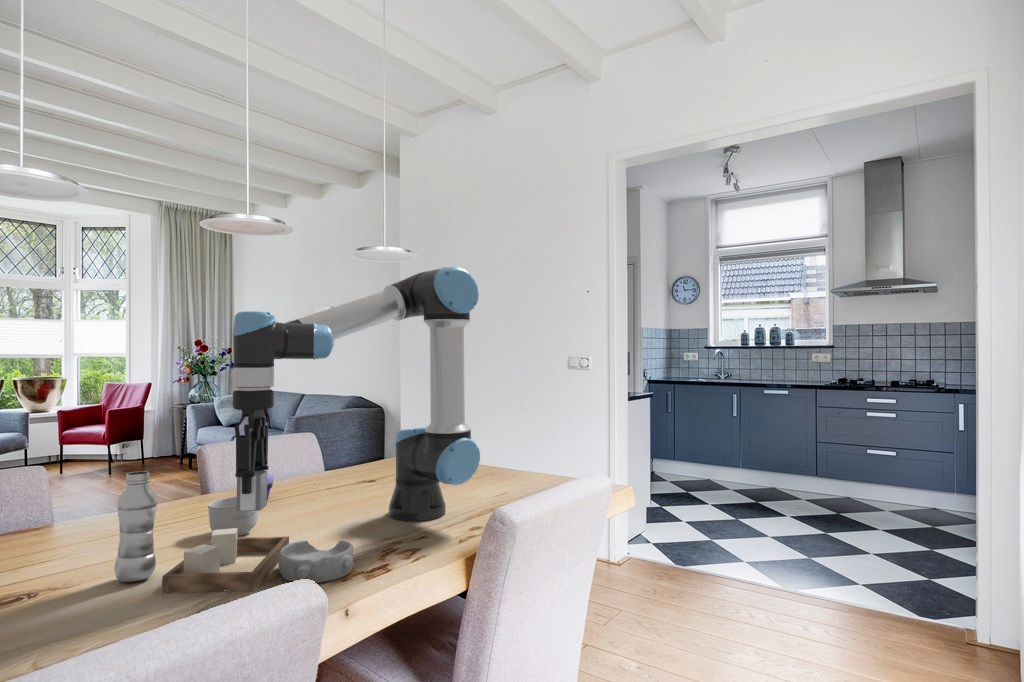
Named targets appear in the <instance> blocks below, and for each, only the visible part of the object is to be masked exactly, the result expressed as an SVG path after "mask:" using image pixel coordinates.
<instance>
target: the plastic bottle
mask: <svg viewBox="0 0 1024 682" xmlns="http://www.w3.org/2000/svg"><path fill="white" fill-rule="evenodd" d="M125 477H126V479H125V485H126V488H125V489H124V490H123V491H122V493H120V495H119V497H118V499H117V502H116V509H117V518H118V523H119V525H118V527H119V528H118V529H119V542H118V548H117V549H118V550H117V557H116V559H115V562H114V563H115V564H114V569H113V570H114V576H115V578H116V579H117V580H118V582H122V583H132V582H133V583H134V582H138V581H143V580H146V579H148V578H150V577H151V576H152V575H153V574H154V572H155V570H156V566H157V559H156V553H155V547H154V546H155V544H154V526H155V518H156V512H157V507H158V500H159V499H158V497H157V496H158V495H157V493H156V492H155V490H154V489H153V488H152V487H151V486H150V484H149V483H150V482H151V478H150V472H149V471H143V470H142V471H132V472H127V473H126V476H125Z"/></svg>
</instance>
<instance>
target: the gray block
mask: <svg viewBox="0 0 1024 682" xmlns="http://www.w3.org/2000/svg"><path fill="white" fill-rule="evenodd" d="M267 473H268V470H265V471H254V476H256V509H255V510H240V479H241V477H236V496H237V507H236V511H258V512H261V511H262V510H264V508H266V507H267V506H268V500H267Z"/></svg>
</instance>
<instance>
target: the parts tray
mask: <svg viewBox="0 0 1024 682" xmlns="http://www.w3.org/2000/svg"><path fill="white" fill-rule="evenodd" d="M288 544H290V535H288V536H256V537H253V536H251V537H250V536H249V537H247V536H246V537H237V554H256V553H257V554H258V553H261V554H262V553H268V554H266V556H264V558H263V559H261V561H260V562H259V563H258V564H257V566H255V568H254V569H253V570H252V571H232V572H231V571H230V572H229V571H226V572H219V573H188V574H184V559H183V560H181V562H179V563H178V564H177V565H175V566H174V567H173V568H171V569H170V570H169V571H168V572H166V573H165V574H164V575H162V577H161V580H162V581H161V593H162V594H174V593H173V592H180V593H181V592H182V593H184V592H186V593H208V592H209V591H217V592H225V591H224V590H229V591H228V592H235V591H234V590H248V591H257V589H258V588H259V587H260V586H261V584H262V583H263V582H264V581H265V580H264V579H267V577H268V576H269V575H270V574H271V572H272V571H273V570H274V569H275V568H276V566H278V565H279V555H280V551H281V549H282V548H283V547H285V546H286V545H288ZM204 545H211V539H210V540H208V541H207V542H205V543H204ZM262 581H263V582H262ZM258 586H259V587H258ZM257 587H258V588H257ZM256 588H257V589H256ZM254 589H255V590H254ZM230 590H231V591H230ZM182 593H181V594H182ZM209 593H210V592H209ZM184 594H185V593H184Z"/></svg>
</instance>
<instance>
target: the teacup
mask: <svg viewBox="0 0 1024 682" xmlns="http://www.w3.org/2000/svg"><path fill="white" fill-rule="evenodd" d="M236 507H237V495H236V496H230V497H228V496H227V497H225V498H224V497H223V498H220V499H216V500H213V501H211V502H209V503H208V504H207V508H208V521H209V526H210V529H211V531H212V532H213V530H219V529H231V528H237V537H239V536H240V537H241V536H244V535H246V534H248V533H250V532H251V531H252V529H253V528H254V527H255V526H256V525H257V523H258V521H259V511H236Z"/></svg>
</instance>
